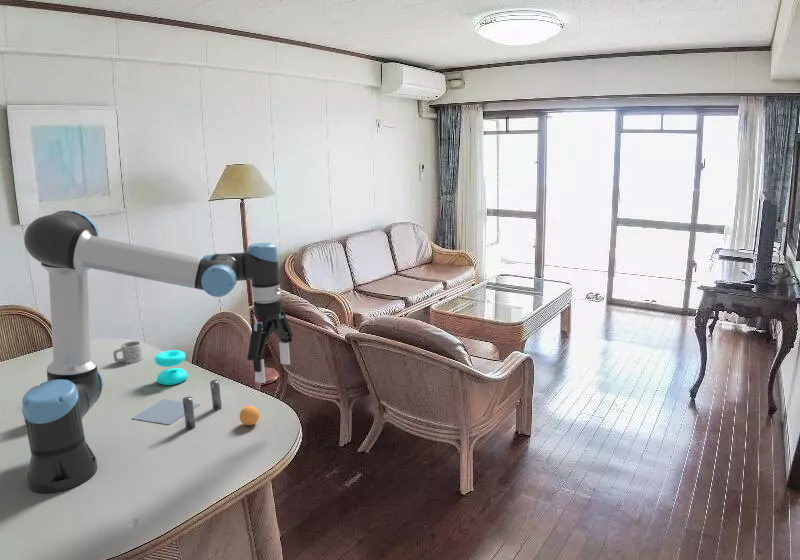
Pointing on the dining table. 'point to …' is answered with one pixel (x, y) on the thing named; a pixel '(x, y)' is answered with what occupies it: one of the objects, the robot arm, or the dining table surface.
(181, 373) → the donuts
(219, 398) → the far post
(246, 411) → the ball
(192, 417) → the near post
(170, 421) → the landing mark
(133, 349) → the mug
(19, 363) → the dining table surface
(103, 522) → the dining table surface
